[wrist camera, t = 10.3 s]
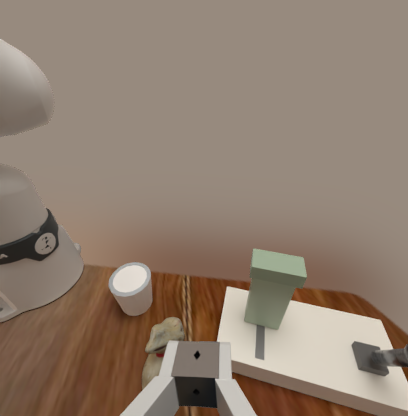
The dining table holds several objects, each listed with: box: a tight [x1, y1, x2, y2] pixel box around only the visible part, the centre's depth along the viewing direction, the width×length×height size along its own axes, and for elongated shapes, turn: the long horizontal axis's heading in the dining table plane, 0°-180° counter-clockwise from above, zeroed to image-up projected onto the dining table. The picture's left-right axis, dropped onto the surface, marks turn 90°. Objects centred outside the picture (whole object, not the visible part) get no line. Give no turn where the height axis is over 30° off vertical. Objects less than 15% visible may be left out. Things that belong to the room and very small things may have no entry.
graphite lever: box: [371, 344, 408, 367], centre depth 23 cm, size 3×3×9 cm
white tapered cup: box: [109, 262, 153, 316], centre depth 37 cm, size 7×7×7 cm
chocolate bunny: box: [142, 317, 185, 390], centre depth 28 cm, size 6×8×10 cm
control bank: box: [217, 286, 408, 416], centre depth 31 cm, size 24×11×5 cm, turn 76°
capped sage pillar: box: [244, 249, 307, 330], centre depth 29 cm, size 6×3×13 cm, turn 76°
